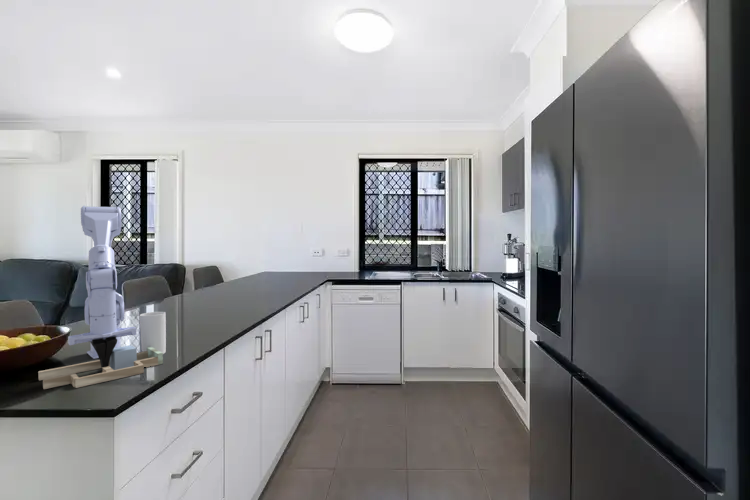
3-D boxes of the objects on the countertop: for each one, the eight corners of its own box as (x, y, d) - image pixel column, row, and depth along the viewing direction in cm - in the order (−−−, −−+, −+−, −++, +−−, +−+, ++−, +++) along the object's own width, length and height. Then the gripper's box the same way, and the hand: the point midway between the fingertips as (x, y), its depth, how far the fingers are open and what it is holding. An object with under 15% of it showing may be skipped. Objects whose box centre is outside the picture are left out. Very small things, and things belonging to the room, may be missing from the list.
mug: (164, 355, 117) (163, 314, 117) (138, 358, 115) (137, 316, 115) (169, 347, 127) (168, 309, 127) (145, 349, 125) (144, 311, 124)
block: (110, 367, 107) (109, 348, 107) (131, 363, 110) (130, 345, 110) (115, 371, 103) (114, 352, 103) (137, 366, 107) (136, 348, 107)
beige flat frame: (38, 379, 98) (38, 367, 98) (151, 356, 116) (151, 346, 116) (46, 394, 88) (45, 381, 88) (168, 367, 106) (168, 356, 106)
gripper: (70, 321, 96) (72, 377, 96) (139, 312, 106) (140, 363, 106) (66, 317, 101) (67, 371, 101) (131, 309, 111) (133, 358, 111)
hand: (104, 367), depth 104 cm, fingers closed
